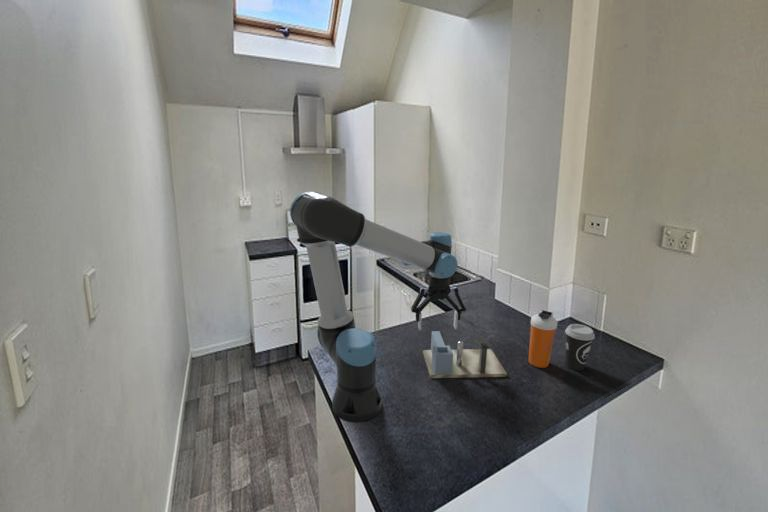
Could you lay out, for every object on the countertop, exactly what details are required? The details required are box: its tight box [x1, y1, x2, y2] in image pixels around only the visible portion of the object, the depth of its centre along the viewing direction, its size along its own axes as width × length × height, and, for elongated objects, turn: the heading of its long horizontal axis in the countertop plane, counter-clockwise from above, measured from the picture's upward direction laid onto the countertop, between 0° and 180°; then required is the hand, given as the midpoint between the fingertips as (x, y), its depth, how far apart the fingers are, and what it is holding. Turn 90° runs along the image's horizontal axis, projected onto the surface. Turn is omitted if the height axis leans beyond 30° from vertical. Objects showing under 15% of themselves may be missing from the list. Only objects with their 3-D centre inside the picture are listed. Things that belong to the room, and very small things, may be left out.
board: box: [422, 348, 508, 379], centre depth 138 cm, size 27×17×1 cm, turn 93°
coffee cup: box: [564, 323, 596, 371], centre depth 136 cm, size 10×10×15 cm
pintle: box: [456, 340, 464, 367], centre depth 134 cm, size 2×2×10 cm
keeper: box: [474, 335, 490, 373], centre depth 132 cm, size 3×7×12 cm, turn 3°
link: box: [430, 330, 453, 375], centre depth 136 cm, size 17×6×8 cm, turn 3°
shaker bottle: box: [528, 309, 558, 369], centre depth 137 cm, size 9×9×20 cm
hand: (437, 328), depth 141 cm, fingers open, 13 cm apart
